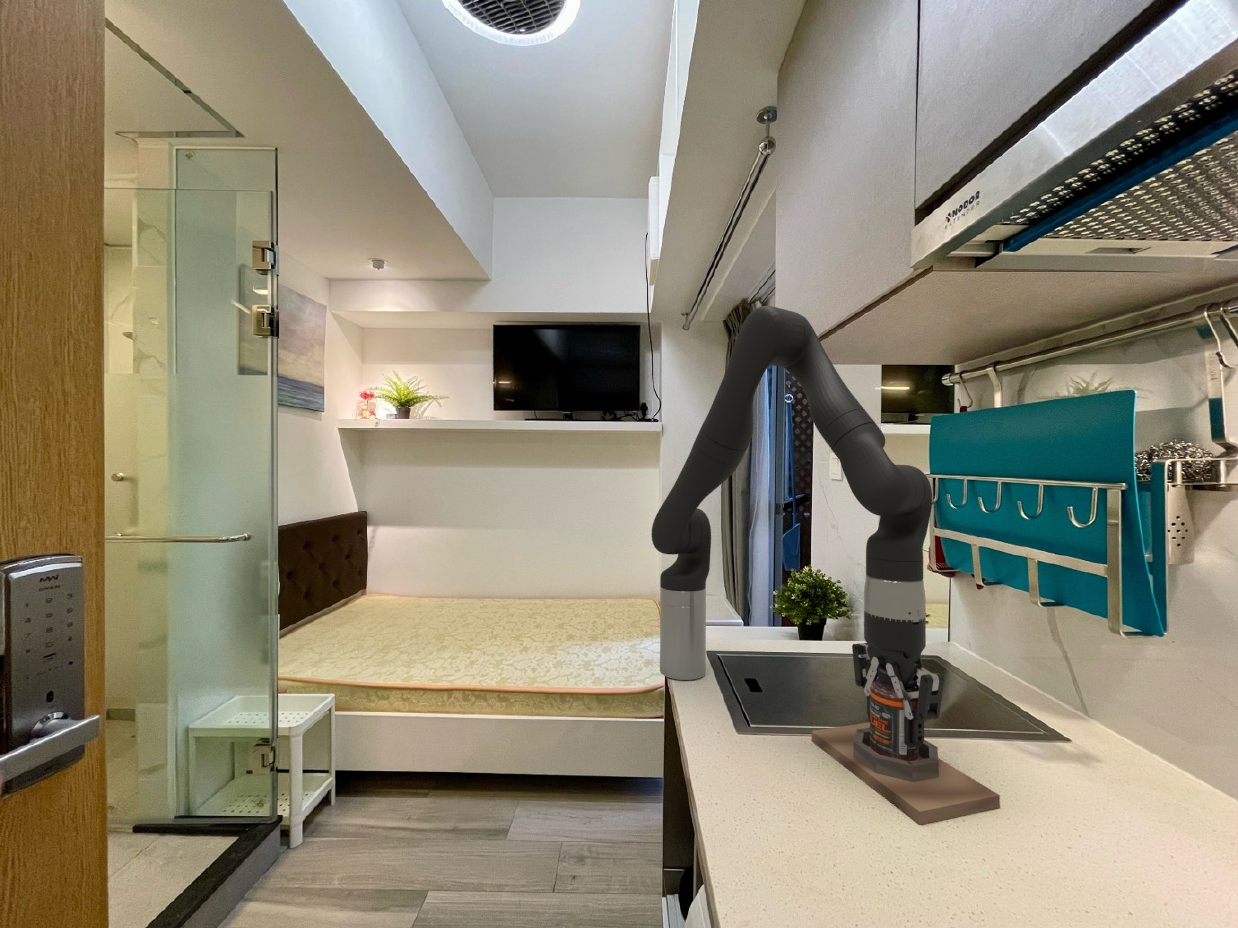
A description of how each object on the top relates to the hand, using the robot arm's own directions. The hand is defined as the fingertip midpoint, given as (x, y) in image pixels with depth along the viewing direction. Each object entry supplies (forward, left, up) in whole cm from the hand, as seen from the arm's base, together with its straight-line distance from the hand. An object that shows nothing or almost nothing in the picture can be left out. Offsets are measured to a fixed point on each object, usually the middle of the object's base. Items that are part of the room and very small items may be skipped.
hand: (894, 733), depth 73 cm
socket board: (0, 0, -5) cm, 5 cm away
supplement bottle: (0, 0, -3) cm, 3 cm away
